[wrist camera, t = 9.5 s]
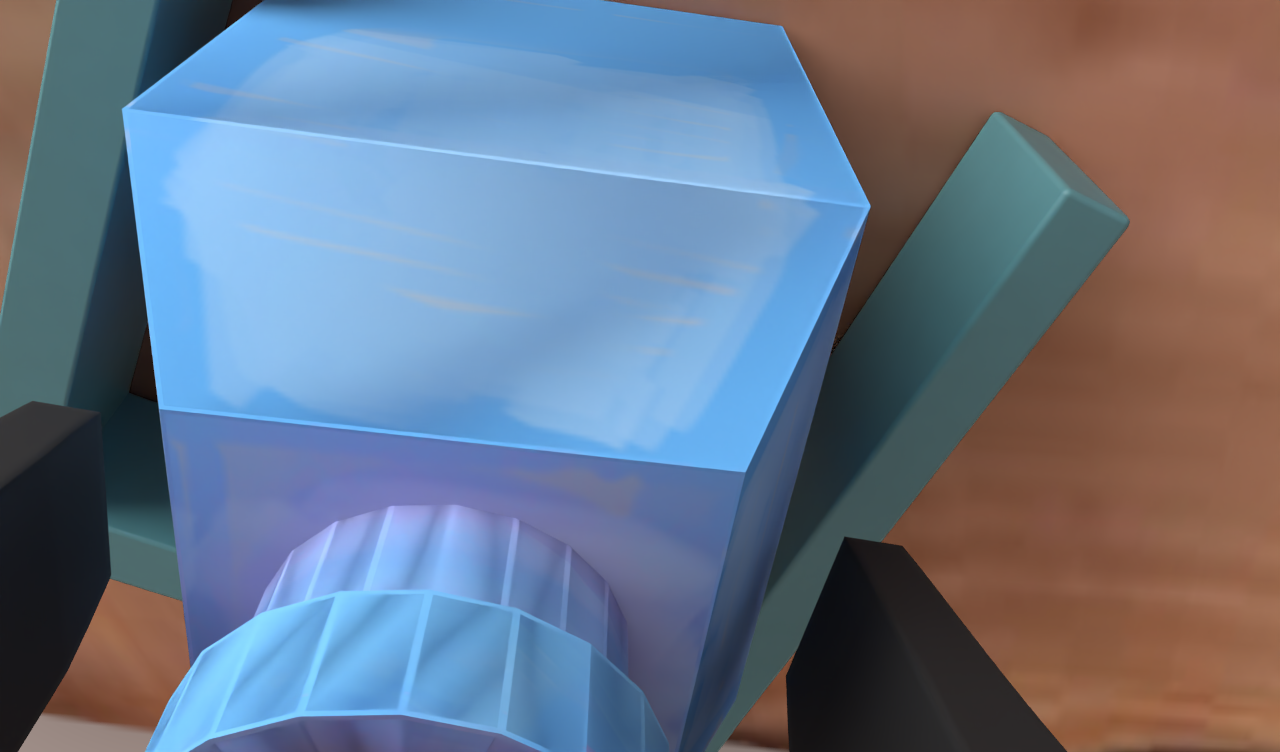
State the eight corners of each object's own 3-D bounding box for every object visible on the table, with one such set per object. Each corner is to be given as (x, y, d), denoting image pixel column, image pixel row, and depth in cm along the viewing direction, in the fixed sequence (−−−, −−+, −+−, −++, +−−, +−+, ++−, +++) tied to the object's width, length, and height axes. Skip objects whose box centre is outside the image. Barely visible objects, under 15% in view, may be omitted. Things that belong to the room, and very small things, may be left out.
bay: (1050, 136, 15) (1136, 222, 13) (698, 635, 20) (708, 766, 18) (214, -292, 12) (106, -294, 10) (57, 415, 17) (-41, 533, 15)
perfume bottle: (782, 26, 14) (1164, 801, 4) (703, 404, 17) (806, 1365, 7) (317, -41, 14) (-584, 652, 4) (325, 361, 17) (-133, 1326, 7)
